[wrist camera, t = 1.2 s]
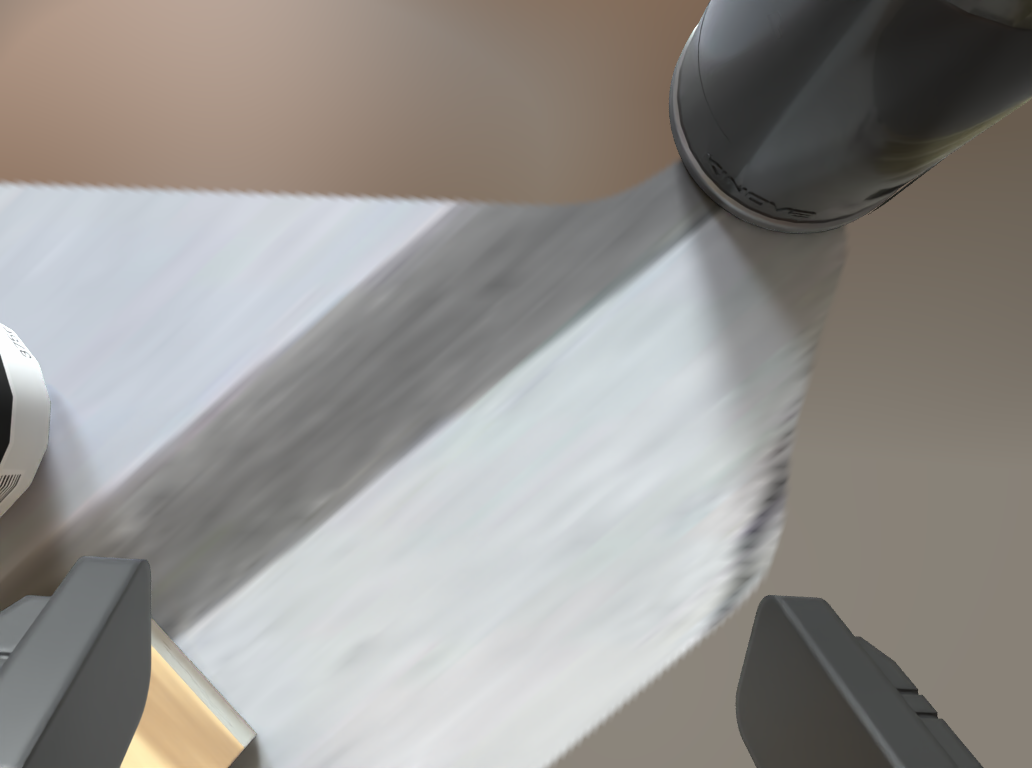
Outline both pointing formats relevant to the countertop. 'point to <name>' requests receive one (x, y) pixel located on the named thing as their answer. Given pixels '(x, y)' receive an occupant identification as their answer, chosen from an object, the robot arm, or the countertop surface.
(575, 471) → the countertop surface
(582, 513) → the countertop surface
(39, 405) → the supplement can
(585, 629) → the countertop surface
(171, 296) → the countertop surface
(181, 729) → the light brown wooden block
